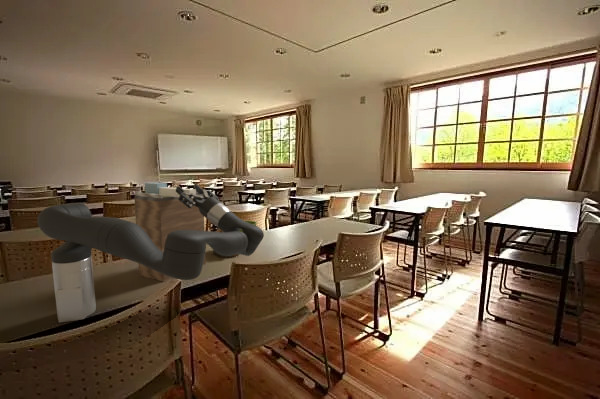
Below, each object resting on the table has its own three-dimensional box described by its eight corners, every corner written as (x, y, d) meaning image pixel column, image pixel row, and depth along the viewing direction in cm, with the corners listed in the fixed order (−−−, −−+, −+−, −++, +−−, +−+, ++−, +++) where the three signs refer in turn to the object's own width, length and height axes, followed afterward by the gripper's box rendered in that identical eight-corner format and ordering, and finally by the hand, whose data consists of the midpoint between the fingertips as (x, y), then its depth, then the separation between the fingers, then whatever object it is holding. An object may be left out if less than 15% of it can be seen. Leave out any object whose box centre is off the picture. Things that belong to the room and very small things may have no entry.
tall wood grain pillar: (205, 263, 132) (203, 189, 127) (163, 281, 112) (159, 195, 107) (182, 258, 137) (179, 188, 133) (139, 275, 118) (134, 192, 113)
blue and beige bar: (197, 197, 111) (197, 185, 110) (188, 198, 107) (187, 186, 106) (155, 193, 120) (154, 182, 120) (145, 194, 116) (144, 183, 116)
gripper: (233, 201, 110) (203, 177, 114) (205, 206, 97) (173, 180, 102) (225, 217, 112) (196, 193, 117) (197, 224, 99) (167, 197, 104)
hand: (186, 187), depth 109 cm, fingers open, 8 cm apart
